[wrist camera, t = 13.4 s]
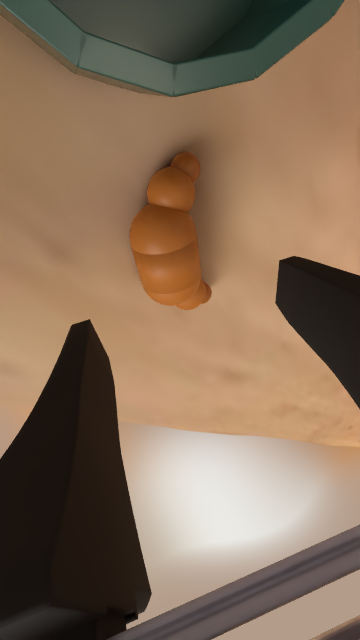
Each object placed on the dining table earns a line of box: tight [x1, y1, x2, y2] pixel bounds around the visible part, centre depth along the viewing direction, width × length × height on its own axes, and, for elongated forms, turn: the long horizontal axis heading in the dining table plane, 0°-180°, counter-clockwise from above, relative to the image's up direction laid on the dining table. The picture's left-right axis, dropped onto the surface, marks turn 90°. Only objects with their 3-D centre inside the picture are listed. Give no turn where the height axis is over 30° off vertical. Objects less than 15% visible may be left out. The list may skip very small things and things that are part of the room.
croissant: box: [130, 152, 212, 310], centre depth 17 cm, size 10×5×4 cm, turn 9°
